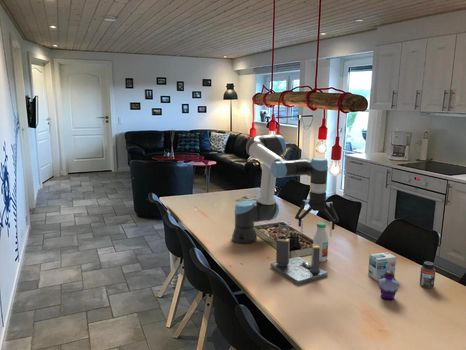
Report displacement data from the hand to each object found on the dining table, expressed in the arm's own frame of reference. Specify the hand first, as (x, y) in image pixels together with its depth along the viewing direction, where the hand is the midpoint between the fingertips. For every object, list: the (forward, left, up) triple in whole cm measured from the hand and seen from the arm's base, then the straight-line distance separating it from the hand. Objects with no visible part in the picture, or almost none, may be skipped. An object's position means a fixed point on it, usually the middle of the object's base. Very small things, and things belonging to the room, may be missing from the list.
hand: (315, 234), depth 185 cm
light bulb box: (+17, +27, -21) cm, 38 cm away
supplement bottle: (+34, +37, -21) cm, 55 cm away
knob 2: (0, 0, -19) cm, 19 cm away
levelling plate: (-7, -5, -21) cm, 22 cm away
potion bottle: (+32, +13, -21) cm, 41 cm away
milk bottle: (-13, +15, -21) cm, 29 cm away
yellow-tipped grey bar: (-14, -9, -19) cm, 25 cm away
